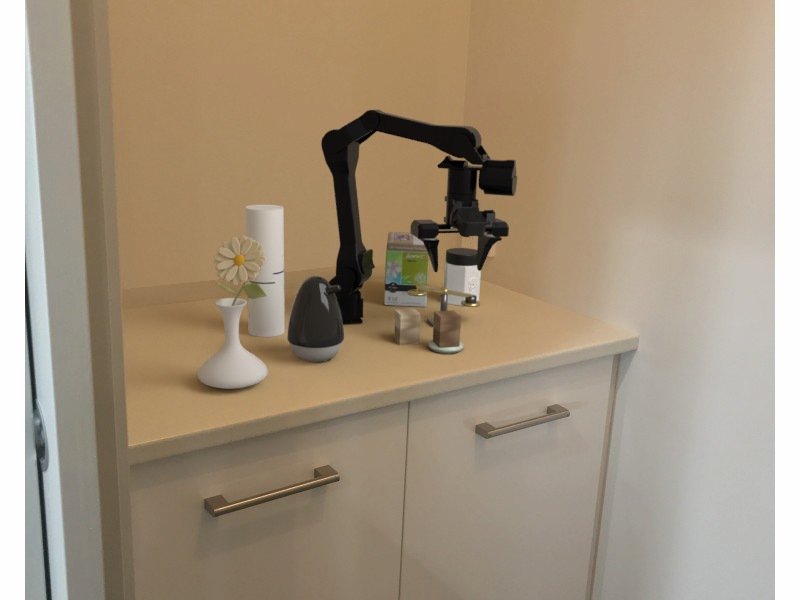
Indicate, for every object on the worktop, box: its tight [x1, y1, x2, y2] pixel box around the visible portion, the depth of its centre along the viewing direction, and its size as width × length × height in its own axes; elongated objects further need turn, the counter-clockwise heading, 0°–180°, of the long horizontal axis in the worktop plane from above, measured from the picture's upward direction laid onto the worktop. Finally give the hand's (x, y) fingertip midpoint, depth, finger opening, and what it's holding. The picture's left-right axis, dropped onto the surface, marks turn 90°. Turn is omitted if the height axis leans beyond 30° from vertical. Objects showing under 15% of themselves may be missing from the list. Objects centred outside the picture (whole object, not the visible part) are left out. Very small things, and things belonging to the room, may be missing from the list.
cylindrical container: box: [245, 204, 286, 338], centre depth 152 cm, size 7×7×25 cm
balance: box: [408, 284, 481, 328], centre depth 163 cm, size 16×4×9 cm, turn 106°
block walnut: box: [432, 310, 462, 348], centre depth 147 cm, size 4×4×6 cm
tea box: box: [383, 231, 430, 308], centre depth 181 cm, size 15×10×15 cm, turn 179°
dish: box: [428, 339, 464, 355], centre depth 148 cm, size 7×7×1 cm
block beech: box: [393, 308, 422, 346], centre depth 151 cm, size 4×4×6 cm
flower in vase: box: [197, 234, 269, 390], centre depth 125 cm, size 13×11×25 cm
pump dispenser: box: [286, 275, 345, 363], centre depth 139 cm, size 10×10×15 cm
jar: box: [443, 247, 482, 307], centre depth 180 cm, size 9×8×12 cm
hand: (457, 271), depth 154 cm, fingers open, 9 cm apart
